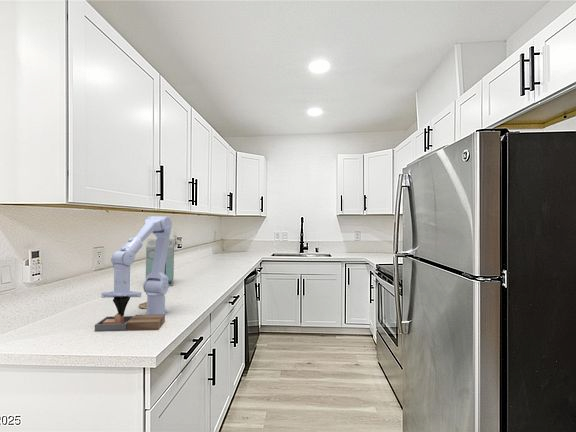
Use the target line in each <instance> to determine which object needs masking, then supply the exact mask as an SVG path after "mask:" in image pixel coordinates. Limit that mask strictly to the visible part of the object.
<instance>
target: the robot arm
mask: <svg viewBox="0 0 576 432" xmlns="http://www.w3.org/2000/svg"><path fill="white" fill-rule="evenodd" d="M172 225H173V221H172V220H171V218H170V217H169V216H167V215H164V216H157V215H154V216H153V215H149V216H148V217H147V218H146V219H145V220H144V225H143V226H142V227H141V229H140V230H139V232H137V234H136V236H135V237H129V238H128V240H127V241H126V243H125V244H124V245H122V246H121V248H120V249H119V250H117V251H115V252H114V253H113V254H112V255H111V257H110V262H111V264H112V269H113V271H114V274H113V277H114V278H113V291H107V292H105V291H104V292H101V297H100V298H101V299H107V298H109V299H111V298H113V299H112V302H113V304H114V305H115V308H116V310H117V313H118V314H121V316H125V312H126V308H127V305H128V304H129V302H130V299H131V298H141V297H142V291H132V290H131V291H130V289H131V287H130V286H131V265H133V264H134V261H135V257H136V254H137V253H138V252H140V250H141V248H142V247H143V242H144V241H145V240H146V239H147V238H148V237H149V236H150V235H151V234H153V235H155V237H156V239H157V242H156V248H155V254H154V260H153V266H152V272H151V273H150V274H148V275H147V276H146V275H145V280H144V282H143V286H142V288H143V292H144V293H145V295H146V296H147V297H146V302H147V309H146V313H145V314H144V315H151V314H165V315H166V313H167V312H168V310H167V309H166V297H165V295H166V294H167V292H168V291H169V288H170V286H169V285H168V279H169V278H168V277H167V276H166V275H165V274H164V270H165V264H166V257H167V251H168V245H169V239H170V238H171V234H172V233H171V232H172V227H173V226H172ZM154 279H160V280H154Z"/></svg>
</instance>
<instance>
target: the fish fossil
mask: <svg viewBox="0 0 576 432" xmlns="http://www.w3.org/2000/svg"><path fill="white" fill-rule="evenodd" d="M138 308H139V309H141V308H142V309H145V310H147V301H144V302H142V303H139V304H138Z"/></svg>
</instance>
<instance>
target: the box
mask: <svg viewBox="0 0 576 432" xmlns="http://www.w3.org/2000/svg"><path fill="white" fill-rule="evenodd" d="M114 316H115V315H114ZM114 316H105V317H104V318H103V319H100V321H98V322H97V323H95V324H94V332H126V331H127V322H128V321H129V320H131V319H132V318H133V317H134V316H135V315H124V324H103V322H104V321H105V320H106V319H115V317H114Z"/></svg>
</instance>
